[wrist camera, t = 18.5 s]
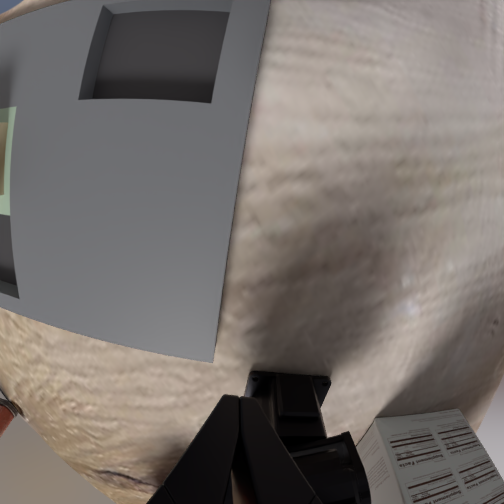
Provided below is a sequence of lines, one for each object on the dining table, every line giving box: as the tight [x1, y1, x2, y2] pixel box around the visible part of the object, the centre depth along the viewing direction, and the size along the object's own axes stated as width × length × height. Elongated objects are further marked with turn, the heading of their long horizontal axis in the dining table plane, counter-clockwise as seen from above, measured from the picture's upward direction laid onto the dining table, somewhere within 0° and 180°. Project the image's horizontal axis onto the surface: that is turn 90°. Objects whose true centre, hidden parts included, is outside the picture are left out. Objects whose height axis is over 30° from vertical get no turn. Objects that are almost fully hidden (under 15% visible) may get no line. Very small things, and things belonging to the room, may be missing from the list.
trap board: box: [0, 0, 271, 363], centre depth 15 cm, size 23×24×2 cm
